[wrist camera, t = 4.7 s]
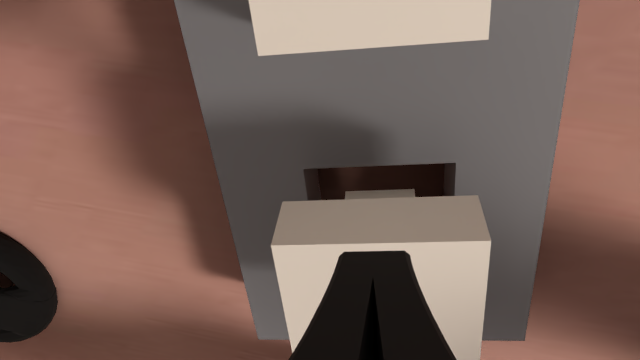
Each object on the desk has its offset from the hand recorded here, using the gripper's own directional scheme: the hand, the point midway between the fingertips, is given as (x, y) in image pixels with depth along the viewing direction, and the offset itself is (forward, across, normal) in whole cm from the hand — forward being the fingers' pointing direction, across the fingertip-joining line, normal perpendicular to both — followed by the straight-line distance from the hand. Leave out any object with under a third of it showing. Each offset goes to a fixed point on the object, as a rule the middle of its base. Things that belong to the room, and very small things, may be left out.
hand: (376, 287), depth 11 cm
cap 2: (+7, 0, +4) cm, 8 cm away
